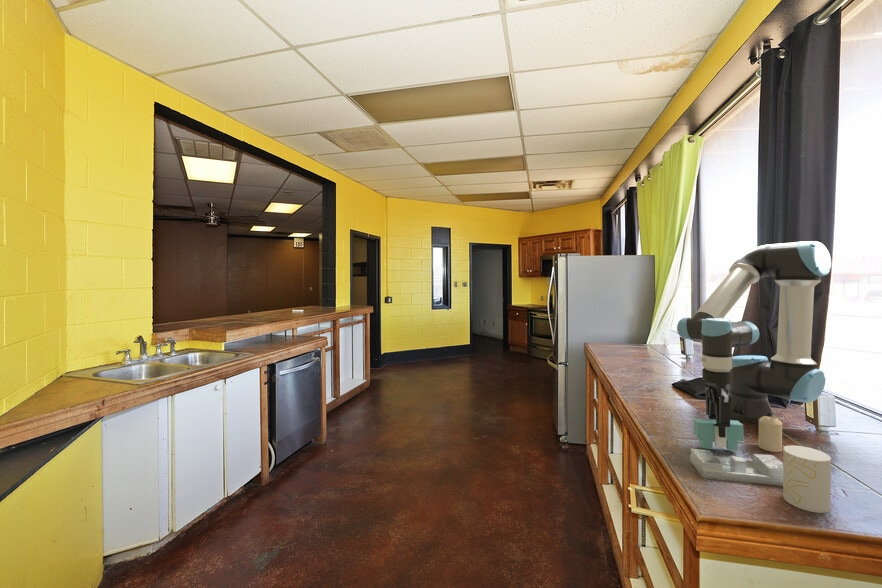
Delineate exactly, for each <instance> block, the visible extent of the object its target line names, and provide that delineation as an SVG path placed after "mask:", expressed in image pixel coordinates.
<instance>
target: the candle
mask: <svg viewBox="0 0 882 588" xmlns="http://www.w3.org/2000/svg"><path fill="white" fill-rule="evenodd" d="M758 447H759V448H760V449H762V450H764V451H767V452H772V453H782V451H783V422H781V420H780V419H779V418H778V417H776V416H774V417H768V416H763V417H762V418H760V419H759V424H758Z"/></svg>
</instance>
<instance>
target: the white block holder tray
mask: <svg viewBox="0 0 882 588" xmlns="http://www.w3.org/2000/svg"><path fill="white" fill-rule="evenodd" d="M689 460H690V463H691V464H692V465H693V466H694V468H695V470H697V472H698V473H699V475H700V476H701V477H702V478H703V479H711V480H719V481H720V480H721V481H728V482H729V481H730V482H739V483H750V484H760V485H769V486H778V487H779V486H780V487H783V462H782V461H781V460H780V459H779V458H778V457H776V456H775V455H772V454H761V453H759V454H758V453H753V454H752V459H751V458H743V457H742V456H736V455H730V457H729V456H720V455H719V456H716V455H715V454H714V452H712V451H711V450H710V449H704V448H703V449H701V448H700V449H698V448H690V454H689Z"/></svg>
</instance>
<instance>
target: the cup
mask: <svg viewBox="0 0 882 588" xmlns="http://www.w3.org/2000/svg"><path fill="white" fill-rule="evenodd" d="M782 451H783V452H782V453H783V454H782V455H783V462H782V463H783V486H782V487H783V488H782V491H783V492H782V497H783V499H784V500H785V501H786V502H787V503H789V504H790V505H792V506H794V507H796V508H798V509H800V510H804V511H807V512H812V513H818V514H827V513H830V511H831V510H832V509H831V503H832V501H831V499H832V497H831V496H832V493H831V491H832V457H831V456H830V455H829V454H828V453H826V452H824V451H821V450H819V449H816V448H813V447H807V446H803V445H785V446H783V447H782Z"/></svg>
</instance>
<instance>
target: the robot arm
mask: <svg viewBox="0 0 882 588" xmlns="http://www.w3.org/2000/svg"><path fill="white" fill-rule="evenodd" d="M831 269H832V258H831V254H830V252H829V249H827V247H826V246H825V245H824V244H823V243H822V242H819V241H816V240H815V241H814V240H813V241H812V240H810V241H809V240H808V241H807V240H806V241H804V240H803V241H801V240H800V241H794V242H783V243H770V244H764V245H759V246H757V247H755V248H753V249H750V250H749V251H748V252H746V253H744V254H743V255H741V256H740V257H739V258H738V259H736V260H735V262H733V264H732V265H731V266H730V268H729V270H728V272H729V274H727V276H726V277H725V278H724V279H723V280H722V282H720V284H719V285H718V286H717V287H716V288H715V290H714V291H713V292H711V294H710V296H709V297H708V298H707V299H706V300H705V301H704V302H703V304H702V305H701V306H700V307H699V308H698V310H697V311H696V312H695V313H694V315H693V316H692V317H683V318H681V319H679V321H678V322H677V325H676V331H677V334H678V335H679V337H681V338H682V339H685V340H689V341H690V340H691V341H696V342H697V341H698V342H701V348H702V349H701V350H702V351H701V356H702V357H700V361H701V363H702V367H703V368H702V372H701V374H702V378H701V379H702V380H703V381H705V382H706V383H704V385H703V386H704V391H705V411H706V415H707V416H708V417H707V418H708V419H715V420H716V424H714V426H715V439H713V442H714V445H715V447H716V448H717V447H718V448H726V447H727V441H726V427H730V420H734V421H739V422H742V423H750V424H756V425H757V424H758V425H759V419H760V418H762V417H763V416H768V417H775V416H774V412H773V409H772V407H771V405H770V402H769V400H768V395H769V396H772V397H773V396H774V397H778V398H782V399H786V400H791V401H792V402H800V403H804V404H805V403H807V404H808V403H813V402H815V401H816V400H817V399H818V398H819V397H820V396H821V395H822V394H823V391H824V389H825V385H826V376H825V372H824V371H822V370H820V369H819V368H817V366H818V363H817V362H816V361H815V360H813V359H812V357H811V356H812V339H813V335H812V334H813V322H814V320H813V318H814V300H815V299H814V297H815V287H816V286H817V285H819V283H821V282H822V277H825V276H827V275H829V273H830V271H831ZM765 277H766V278H767V277H774V282H775V283H776V284H777V285H778V286H779V301H778V303H779V304H778V319H777V320H778V323H777V325H778V326H777V341H776V342H777V343H776V344H777V345H776V354H774V355H773V356H772V357H770V361H769V359H768V357H767V356H766V355H765V356H764V355H750V354H749V355H736V356H733V348H737V347H746V346H749V345H753V344H754V343H756V342H757V341H758V340H759V338H760V331H759V328H758V327H757V325H755V324H754V323H753V322H752V321H742V320H738V321H731V320H730V319H729V318H725V317H726V316H727V314H728V313H729V312H730V311H731V309H732V308H733V307H734V306H735V305H736V303H737V302H738V301H739V300H740V298H741V297H742V296H743V295H744V293H746V291H747V290H748V289H749V287H750V286H751V285H753V284H756V283H758V282H759V281H760V279H762V278H765Z"/></svg>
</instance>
